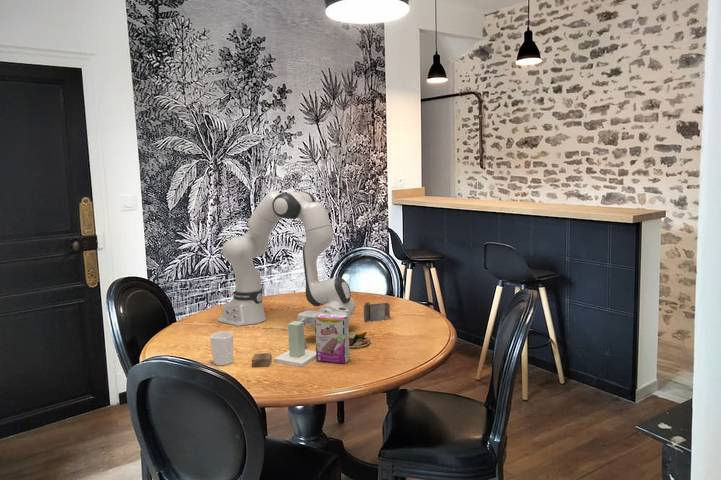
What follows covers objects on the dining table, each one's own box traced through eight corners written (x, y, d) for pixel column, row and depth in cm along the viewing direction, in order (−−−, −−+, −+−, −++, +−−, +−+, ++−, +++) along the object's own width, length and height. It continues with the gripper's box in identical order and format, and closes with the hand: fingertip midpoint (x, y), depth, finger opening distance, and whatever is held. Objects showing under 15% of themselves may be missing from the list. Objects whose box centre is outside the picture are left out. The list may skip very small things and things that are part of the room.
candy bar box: (315, 361, 187) (313, 316, 185) (321, 356, 192) (319, 312, 189) (345, 364, 183) (343, 318, 181) (350, 359, 188) (348, 314, 186)
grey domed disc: (287, 349, 201) (287, 343, 200) (296, 344, 206) (296, 338, 206) (301, 351, 198) (300, 345, 198) (309, 346, 203) (309, 340, 203)
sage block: (289, 356, 190) (288, 324, 188) (295, 352, 193) (294, 320, 191) (298, 357, 188) (297, 325, 186) (305, 354, 191) (303, 322, 190)
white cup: (214, 358, 193) (212, 332, 191) (236, 357, 193) (234, 331, 192) (210, 366, 185) (208, 339, 184) (233, 365, 186) (231, 338, 184)
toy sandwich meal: (364, 351, 197) (363, 339, 196) (330, 348, 202) (330, 336, 201) (374, 340, 209) (374, 329, 208) (342, 337, 213) (342, 326, 213)
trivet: (274, 361, 188) (273, 358, 188) (292, 351, 199) (292, 347, 198) (302, 366, 183) (302, 363, 182) (320, 355, 193) (320, 352, 193)
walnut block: (252, 368, 184) (251, 359, 183) (254, 361, 189) (254, 353, 189) (269, 367, 184) (269, 359, 183) (271, 361, 190) (271, 353, 189)
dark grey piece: (365, 323, 232) (365, 302, 231) (364, 321, 235) (363, 300, 234) (390, 321, 235) (389, 299, 233) (388, 319, 238) (388, 298, 236)
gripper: (307, 305, 215) (288, 314, 203) (352, 310, 206) (335, 319, 194) (308, 320, 216) (289, 329, 204) (352, 325, 207) (335, 336, 195)
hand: (311, 324), depth 199 cm, fingers open, 8 cm apart
